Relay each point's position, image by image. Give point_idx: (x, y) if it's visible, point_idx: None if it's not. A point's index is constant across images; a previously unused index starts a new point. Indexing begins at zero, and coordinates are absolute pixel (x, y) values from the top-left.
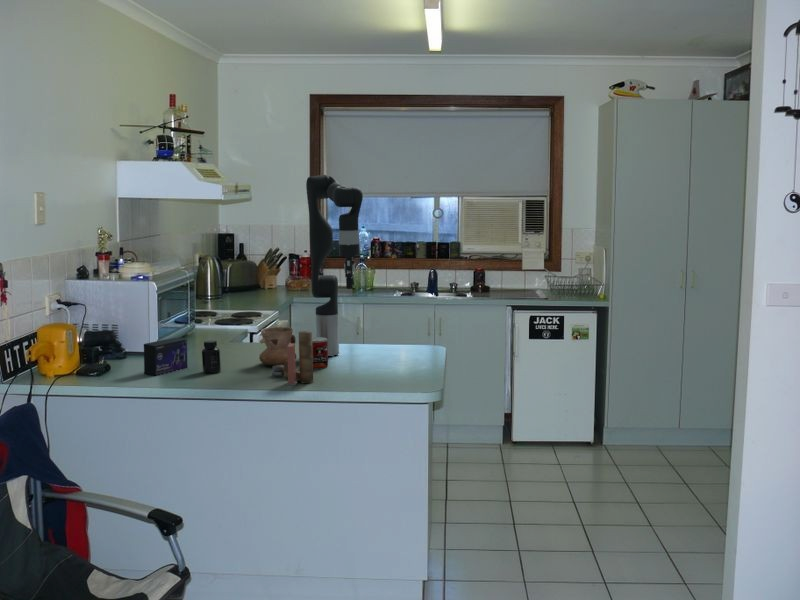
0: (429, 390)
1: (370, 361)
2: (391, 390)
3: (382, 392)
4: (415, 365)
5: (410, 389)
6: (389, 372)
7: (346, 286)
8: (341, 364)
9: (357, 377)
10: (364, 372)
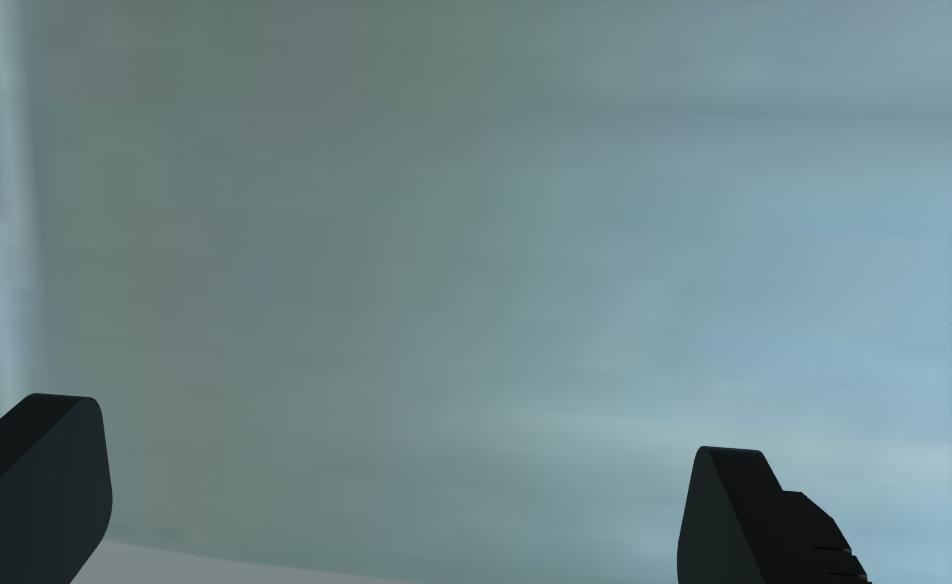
0: None
1: (936, 255)
2: (69, 331)
3: (18, 280)
4: None
5: None
6: (546, 353)
7: (8, 415)
8: (900, 36)
9: (425, 147)
10: (575, 199)
